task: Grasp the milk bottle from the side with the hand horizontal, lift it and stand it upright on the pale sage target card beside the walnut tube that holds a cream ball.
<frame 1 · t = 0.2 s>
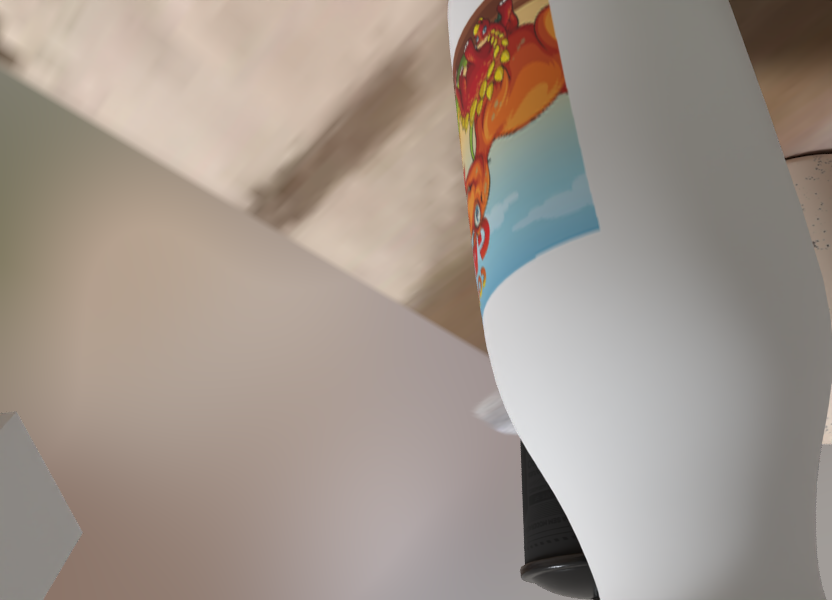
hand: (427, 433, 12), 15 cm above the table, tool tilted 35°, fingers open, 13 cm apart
teacup with lid: (786, 219, 35), on the table
drinking cup: (556, 329, 45), on the table
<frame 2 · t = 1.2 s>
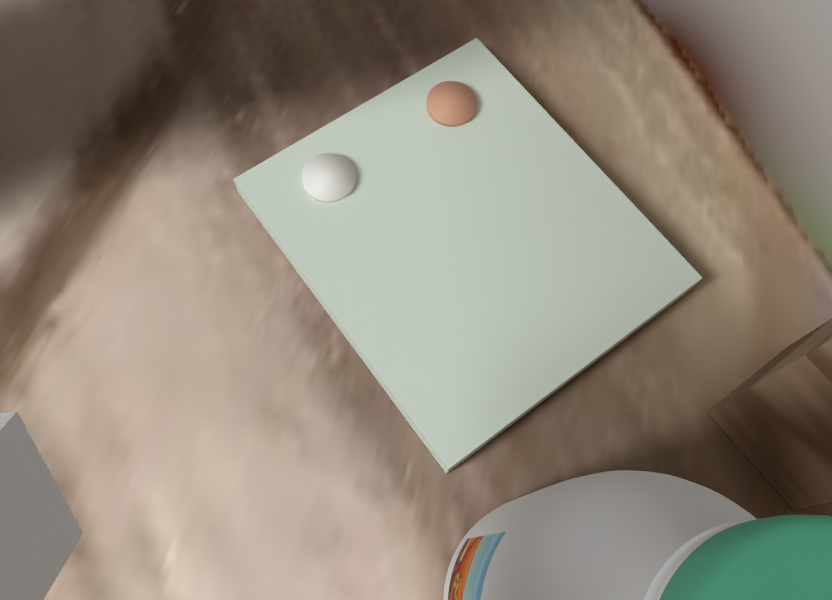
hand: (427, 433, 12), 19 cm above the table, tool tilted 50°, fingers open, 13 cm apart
walnut tube: (791, 425, 32), on the table
target card: (461, 239, 34), on the table
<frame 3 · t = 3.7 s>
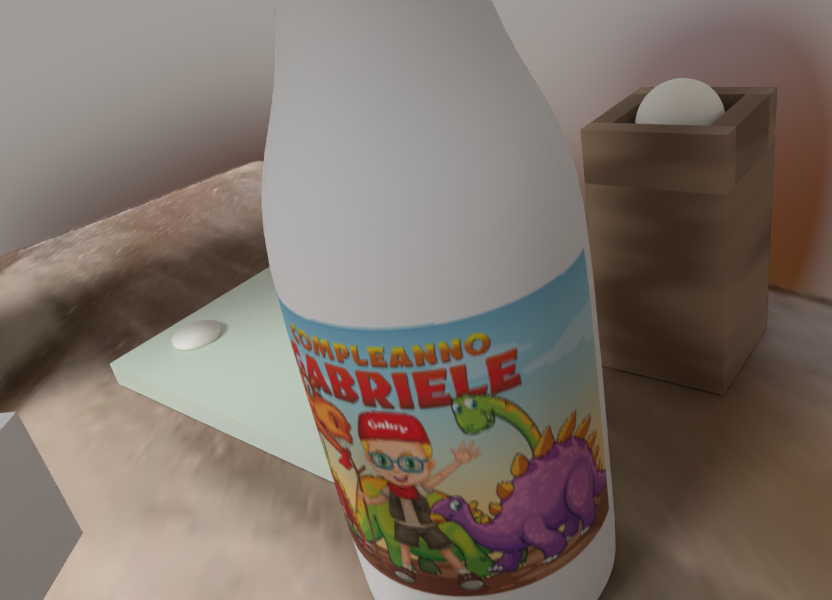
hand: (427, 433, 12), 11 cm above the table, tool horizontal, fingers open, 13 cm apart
walnut tube: (683, 346, 31), on the table
target card: (329, 345, 36), on the table
milk bottle: (490, 558, 23), on the table
cream ball: (680, 162, 27), point 8 cm above the table, touching walnut tube
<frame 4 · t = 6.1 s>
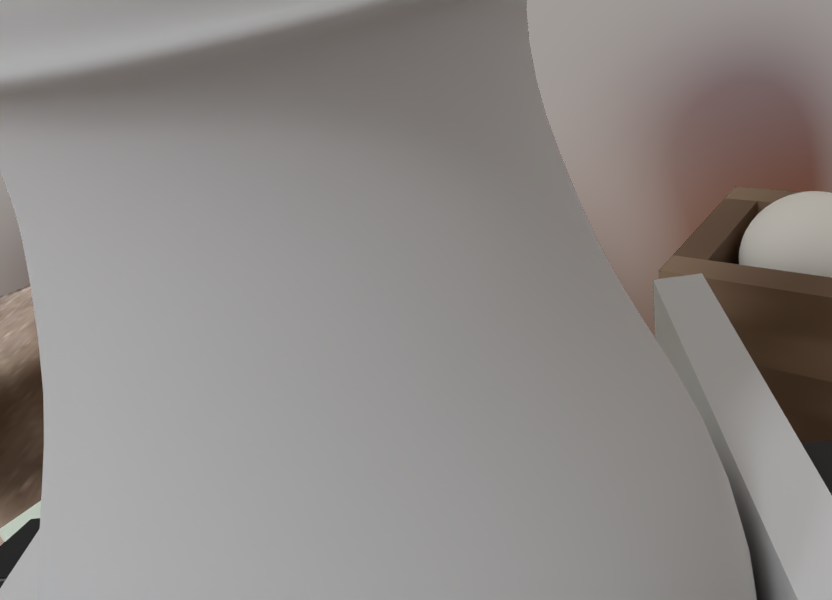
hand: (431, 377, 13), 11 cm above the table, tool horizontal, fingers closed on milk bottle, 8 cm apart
walnut tube: (788, 550, 22), on the table
target card: (292, 505, 27), on the table
cream ball: (805, 313, 18), point 8 cm above the table, touching walnut tube
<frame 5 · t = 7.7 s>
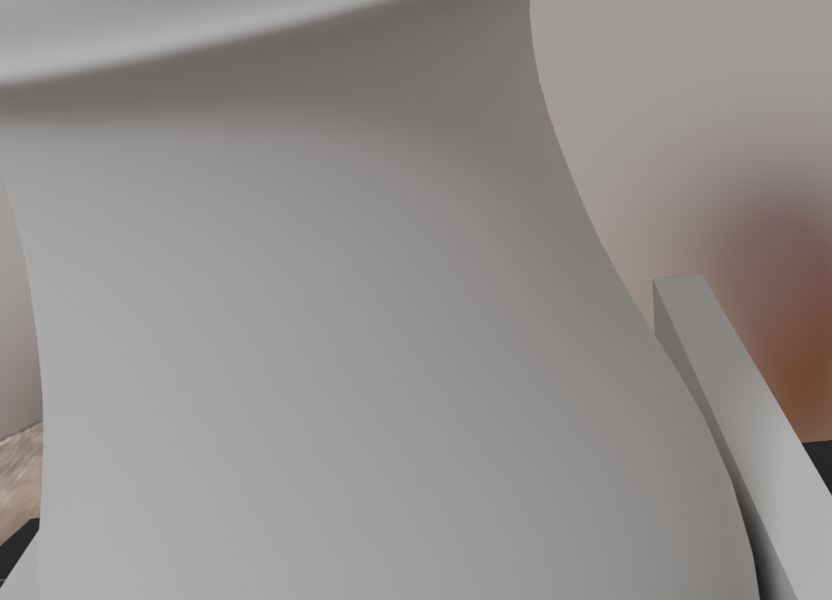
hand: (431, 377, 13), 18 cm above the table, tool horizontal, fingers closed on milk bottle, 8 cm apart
when the fingers open (13 cm above the table, at t = 9.6 s): milk bottle stays where it is, resting on target card.
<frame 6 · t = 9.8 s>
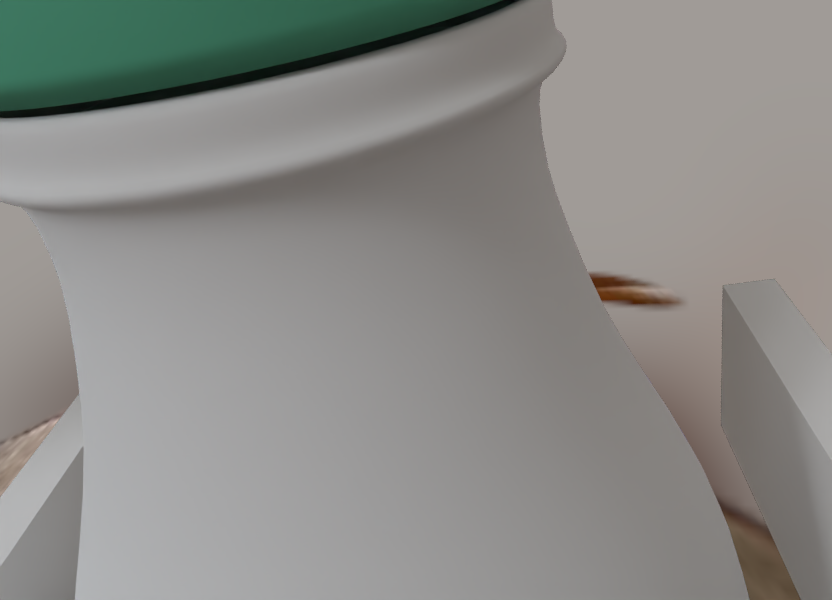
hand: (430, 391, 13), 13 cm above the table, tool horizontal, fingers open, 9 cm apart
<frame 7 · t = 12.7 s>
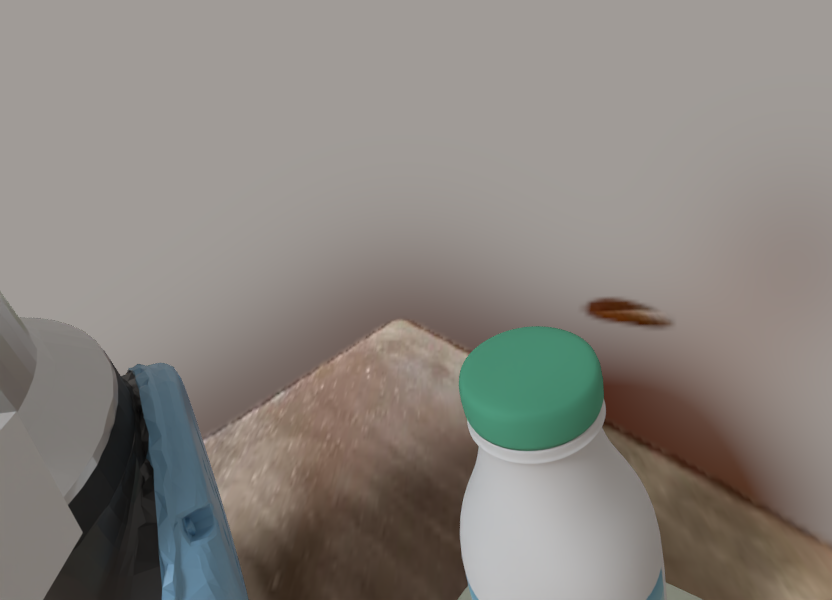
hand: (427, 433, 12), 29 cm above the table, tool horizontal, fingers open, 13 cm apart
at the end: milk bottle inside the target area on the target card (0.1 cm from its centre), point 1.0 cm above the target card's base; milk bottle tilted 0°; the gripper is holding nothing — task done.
